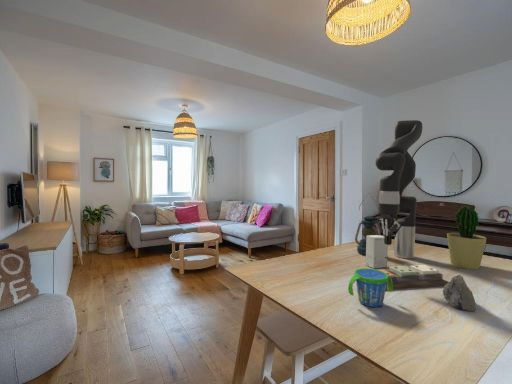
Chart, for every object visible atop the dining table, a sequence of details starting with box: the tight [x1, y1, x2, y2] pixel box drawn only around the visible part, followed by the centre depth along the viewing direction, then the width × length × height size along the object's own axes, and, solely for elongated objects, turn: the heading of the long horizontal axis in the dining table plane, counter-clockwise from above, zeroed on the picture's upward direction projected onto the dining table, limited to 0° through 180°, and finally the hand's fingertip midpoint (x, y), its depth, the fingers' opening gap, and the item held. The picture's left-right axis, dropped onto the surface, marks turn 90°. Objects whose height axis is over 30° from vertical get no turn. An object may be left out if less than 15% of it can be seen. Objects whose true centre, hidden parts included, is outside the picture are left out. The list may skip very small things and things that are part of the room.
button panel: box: [374, 268, 449, 291], centre depth 109 cm, size 14×30×4 cm, turn 100°
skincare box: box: [365, 234, 389, 269], centre depth 128 cm, size 8×6×15 cm
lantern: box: [354, 192, 382, 257], centre depth 149 cm, size 14×12×35 cm
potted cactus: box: [446, 205, 487, 270], centre depth 130 cm, size 15×15×30 cm
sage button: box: [388, 265, 417, 276], centre depth 109 cm, size 7×7×2 cm
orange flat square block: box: [378, 268, 394, 276], centre depth 107 cm, size 7×7×2 cm
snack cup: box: [347, 268, 394, 308], centre depth 89 cm, size 16×10×10 cm
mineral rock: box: [442, 274, 477, 312], centre depth 90 cm, size 13×11×10 cm
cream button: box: [409, 264, 439, 274], centre depth 111 cm, size 7×7×2 cm
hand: (387, 244), depth 108 cm, fingers closed
